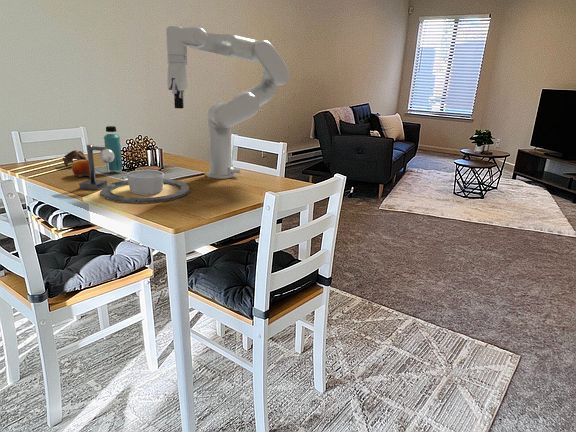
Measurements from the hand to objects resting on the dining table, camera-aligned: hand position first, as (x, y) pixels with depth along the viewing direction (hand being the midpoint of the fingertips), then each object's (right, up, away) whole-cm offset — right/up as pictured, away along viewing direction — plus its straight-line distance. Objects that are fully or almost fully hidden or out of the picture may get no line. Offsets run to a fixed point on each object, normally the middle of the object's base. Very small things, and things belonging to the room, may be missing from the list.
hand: (179, 108), depth 169 cm
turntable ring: (-9, -35, -13) cm, 38 cm away
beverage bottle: (-31, -25, +12) cm, 42 cm away
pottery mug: (-52, -21, +21) cm, 60 cm away
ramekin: (-9, -35, -13) cm, 38 cm away
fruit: (-41, -28, +4) cm, 50 cm away
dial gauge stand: (-27, -33, -11) cm, 44 cm away
